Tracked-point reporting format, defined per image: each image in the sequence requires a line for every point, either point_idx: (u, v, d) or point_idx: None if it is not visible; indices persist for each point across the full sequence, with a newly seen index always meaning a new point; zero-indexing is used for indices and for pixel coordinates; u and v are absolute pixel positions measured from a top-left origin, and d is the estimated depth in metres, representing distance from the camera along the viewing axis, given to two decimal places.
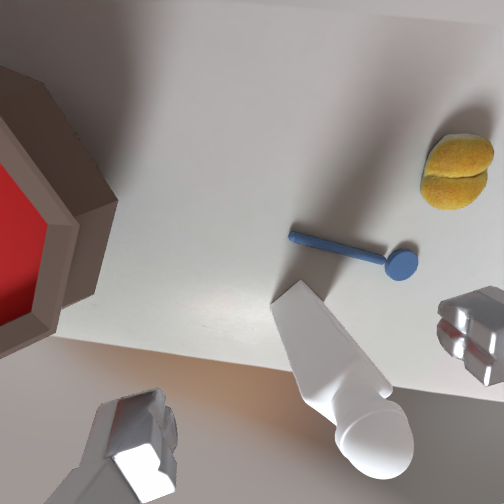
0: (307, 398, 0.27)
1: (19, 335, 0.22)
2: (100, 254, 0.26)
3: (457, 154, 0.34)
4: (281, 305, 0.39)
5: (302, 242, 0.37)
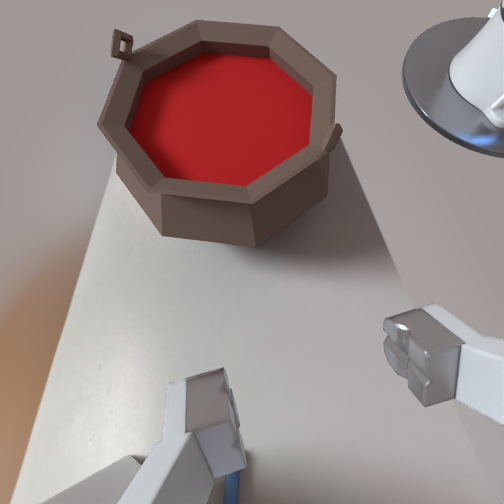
0: None
1: (142, 168, 0.25)
2: (205, 236, 0.29)
3: None
4: (135, 470, 0.28)
5: None
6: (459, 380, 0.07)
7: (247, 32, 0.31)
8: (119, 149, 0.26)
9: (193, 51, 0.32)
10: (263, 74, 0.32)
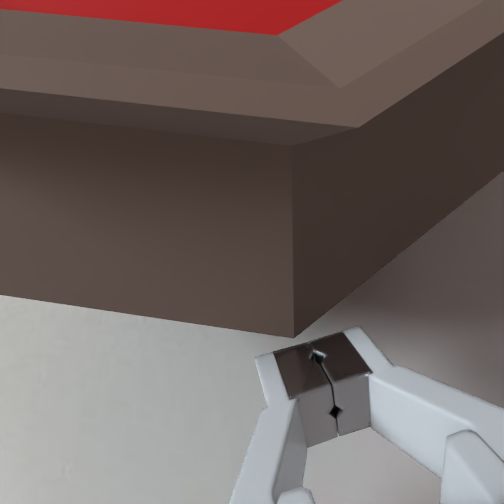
0: None
1: None
2: (107, 298, 0.08)
3: None
4: None
5: None
6: (370, 409, 0.07)
7: None
8: None
9: None
10: None
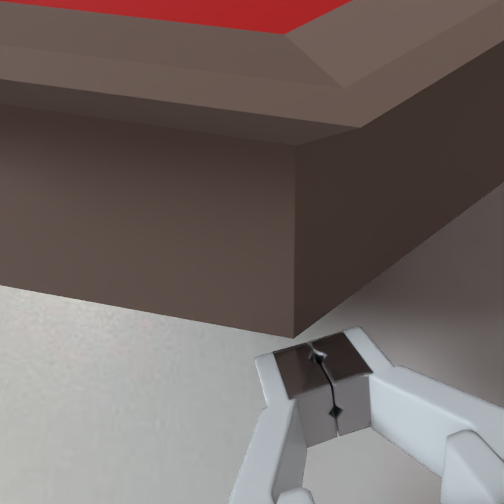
0: None
1: None
2: (109, 293, 0.08)
3: None
4: None
5: None
6: (371, 409, 0.07)
7: None
8: None
9: None
10: None
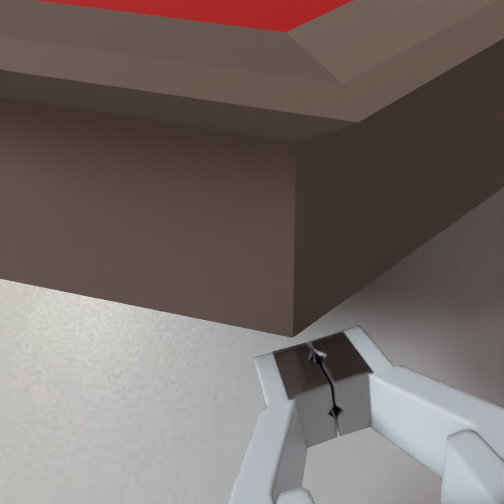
0: None
1: None
2: (110, 288, 0.08)
3: None
4: None
5: None
6: (371, 409, 0.07)
7: None
8: None
9: None
10: None
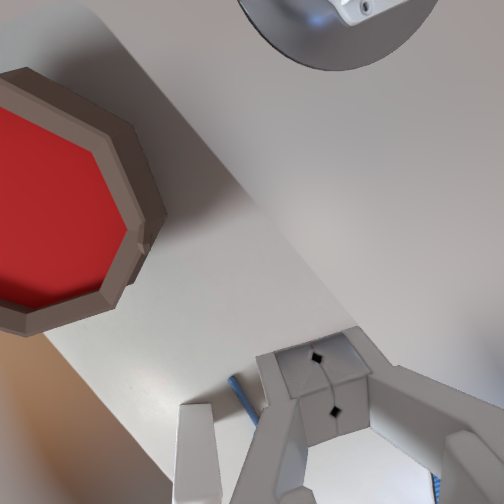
0: (176, 501, 0.39)
1: (2, 320, 0.28)
2: None
3: None
4: (188, 413, 0.52)
5: (233, 387, 0.53)
6: (370, 410, 0.07)
7: None
8: None
9: None
10: (18, 132, 0.24)
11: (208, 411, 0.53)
